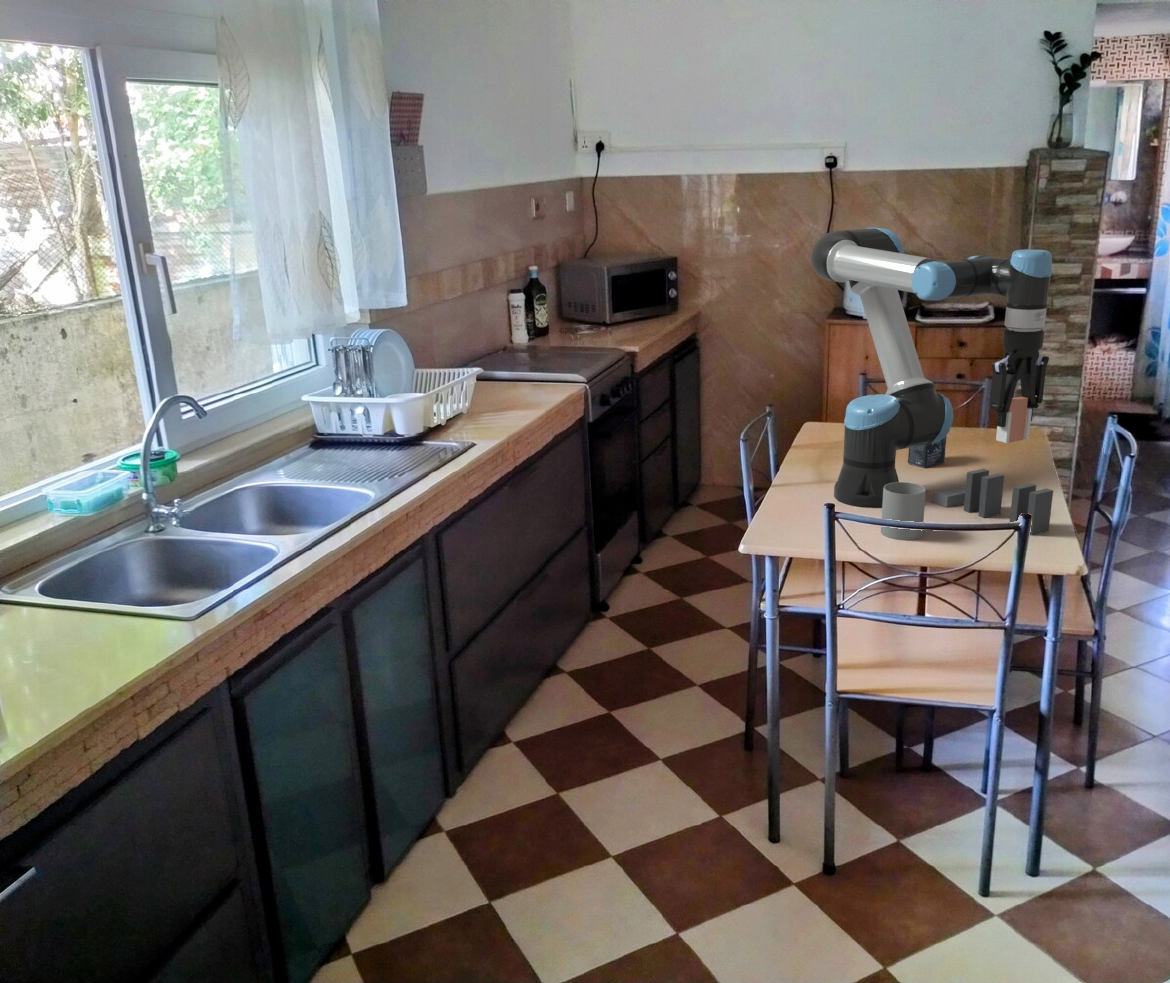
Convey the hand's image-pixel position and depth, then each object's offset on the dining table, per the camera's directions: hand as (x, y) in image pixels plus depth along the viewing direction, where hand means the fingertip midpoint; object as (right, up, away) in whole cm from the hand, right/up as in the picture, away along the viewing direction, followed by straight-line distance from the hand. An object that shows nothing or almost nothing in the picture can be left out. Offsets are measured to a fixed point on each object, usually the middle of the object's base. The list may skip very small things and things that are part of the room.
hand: (1012, 439), depth 211 cm
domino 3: (0, 0, 0) cm, 0 cm away
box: (-2, -4, +49) cm, 49 cm away
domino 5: (+5, -19, 0) cm, 20 cm away
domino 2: (-1, -16, +11) cm, 19 cm away
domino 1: (-2, -15, +14) cm, 21 cm away
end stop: (-5, -13, +20) cm, 24 cm away
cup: (-23, -20, +2) cm, 30 cm away
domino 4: (+3, -18, +3) cm, 19 cm away
